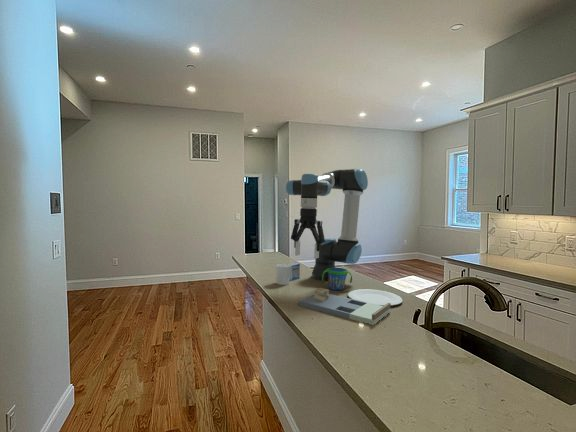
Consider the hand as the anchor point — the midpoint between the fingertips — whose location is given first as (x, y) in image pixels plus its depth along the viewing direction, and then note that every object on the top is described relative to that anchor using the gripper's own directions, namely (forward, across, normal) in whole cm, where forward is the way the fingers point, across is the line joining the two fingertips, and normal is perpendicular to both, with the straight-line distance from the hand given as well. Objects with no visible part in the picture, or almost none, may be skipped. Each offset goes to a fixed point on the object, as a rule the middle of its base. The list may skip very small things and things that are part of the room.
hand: (306, 256), depth 146 cm
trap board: (+20, +20, 0) cm, 28 cm away
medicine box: (+20, -26, +27) cm, 43 cm away
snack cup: (+20, +2, +26) cm, 33 cm away
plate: (+20, +24, +23) cm, 39 cm away
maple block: (+18, +8, 0) cm, 20 cm away
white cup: (+20, -24, +15) cm, 35 cm away
